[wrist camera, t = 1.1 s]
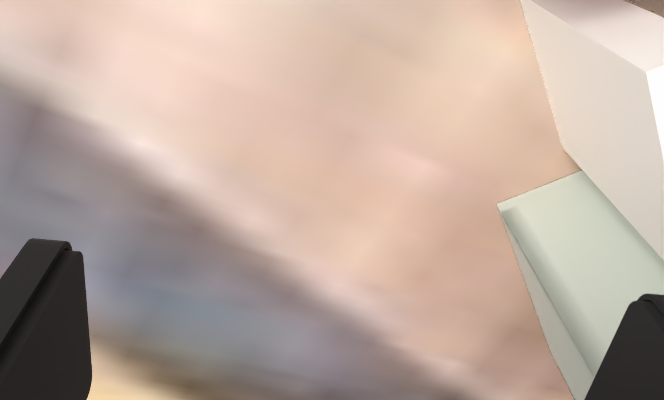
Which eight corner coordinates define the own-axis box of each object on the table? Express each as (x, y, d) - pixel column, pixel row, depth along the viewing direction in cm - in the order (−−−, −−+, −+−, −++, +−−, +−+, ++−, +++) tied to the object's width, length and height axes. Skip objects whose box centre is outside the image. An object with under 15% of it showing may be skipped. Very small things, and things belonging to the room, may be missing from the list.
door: (517, -8, 33) (645, 72, 21) (580, -36, 32) (750, 29, 20) (562, 147, 37) (689, 288, 25) (617, 125, 37) (775, 258, 25)
